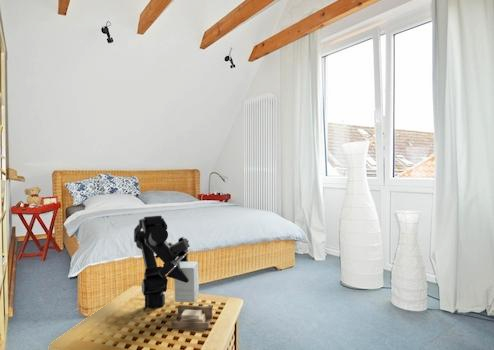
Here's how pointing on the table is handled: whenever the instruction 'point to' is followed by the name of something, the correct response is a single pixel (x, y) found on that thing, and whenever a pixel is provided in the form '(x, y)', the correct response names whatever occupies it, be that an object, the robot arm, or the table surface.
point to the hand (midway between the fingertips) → (190, 277)
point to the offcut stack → (193, 316)
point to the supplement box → (189, 289)
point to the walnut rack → (193, 325)
